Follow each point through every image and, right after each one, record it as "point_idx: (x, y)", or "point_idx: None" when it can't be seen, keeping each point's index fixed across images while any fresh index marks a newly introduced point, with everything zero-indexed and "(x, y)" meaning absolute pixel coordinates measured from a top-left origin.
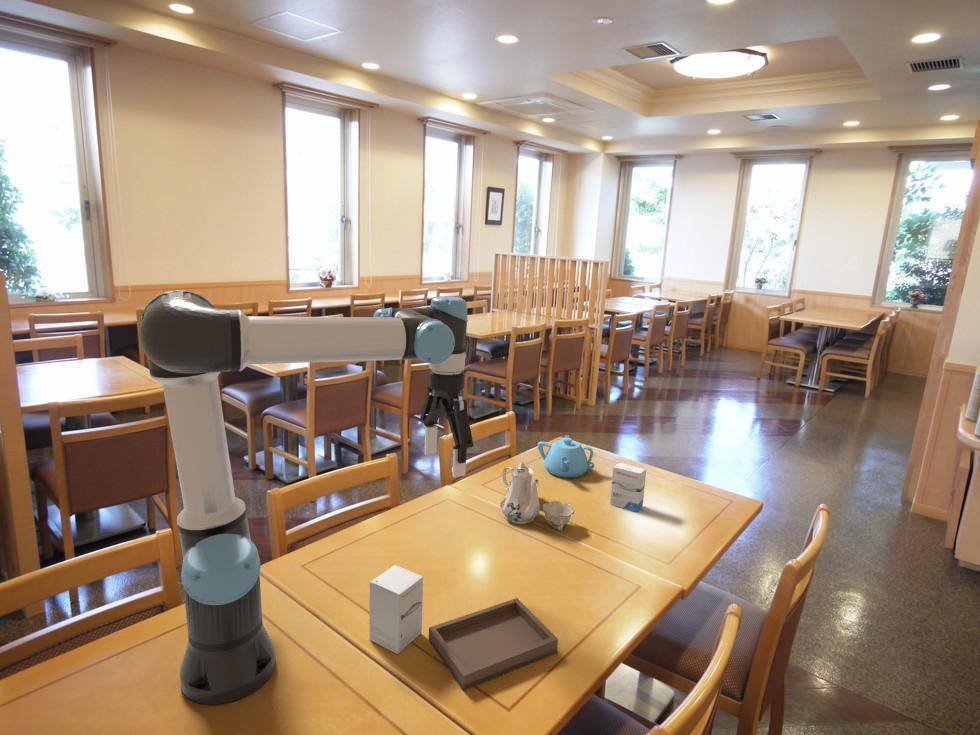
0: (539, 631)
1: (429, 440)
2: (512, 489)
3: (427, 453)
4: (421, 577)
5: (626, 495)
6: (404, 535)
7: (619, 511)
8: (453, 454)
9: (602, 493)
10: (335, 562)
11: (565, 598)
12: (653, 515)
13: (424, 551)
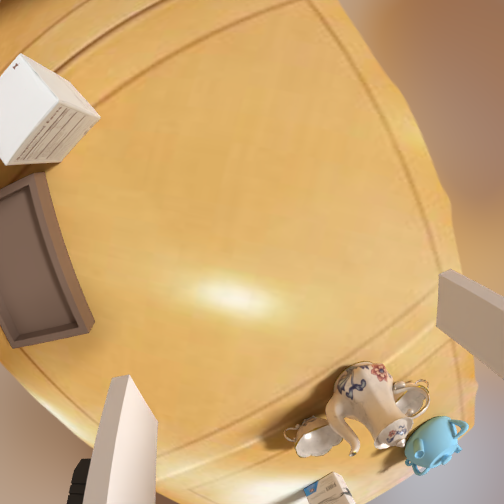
0: (33, 334)
1: (492, 325)
2: (379, 403)
3: (443, 285)
4: (3, 161)
5: (321, 494)
6: (366, 179)
7: (313, 477)
8: (103, 485)
9: (359, 466)
10: (305, 41)
11: None
12: (291, 497)
13: (304, 205)
